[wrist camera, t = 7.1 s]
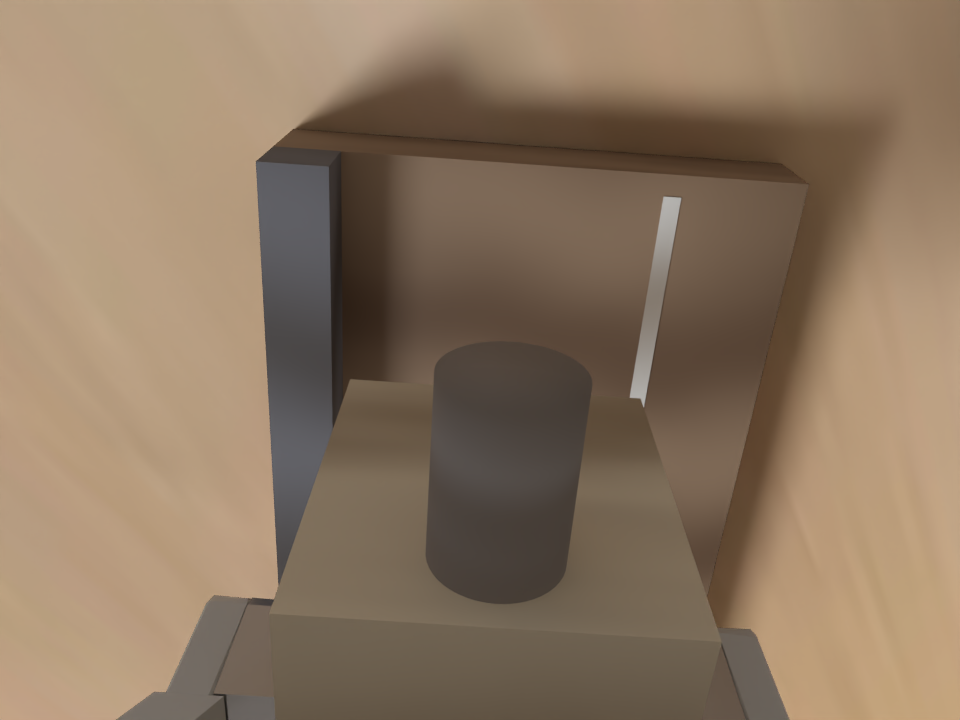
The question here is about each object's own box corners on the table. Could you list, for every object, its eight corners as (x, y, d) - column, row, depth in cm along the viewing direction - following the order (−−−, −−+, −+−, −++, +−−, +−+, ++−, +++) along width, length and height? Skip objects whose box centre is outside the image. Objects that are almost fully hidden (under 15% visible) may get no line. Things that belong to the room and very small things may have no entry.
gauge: (350, 238, 10) (256, 415, 6) (664, 260, 10) (771, 449, 6) (351, 774, 15) (297, 1081, 11) (573, 788, 15) (602, 1098, 11)
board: (293, 128, 20) (255, 161, 17) (781, 164, 20) (833, 202, 17) (312, 708, 29) (290, 800, 26) (651, 728, 29) (670, 822, 26)
